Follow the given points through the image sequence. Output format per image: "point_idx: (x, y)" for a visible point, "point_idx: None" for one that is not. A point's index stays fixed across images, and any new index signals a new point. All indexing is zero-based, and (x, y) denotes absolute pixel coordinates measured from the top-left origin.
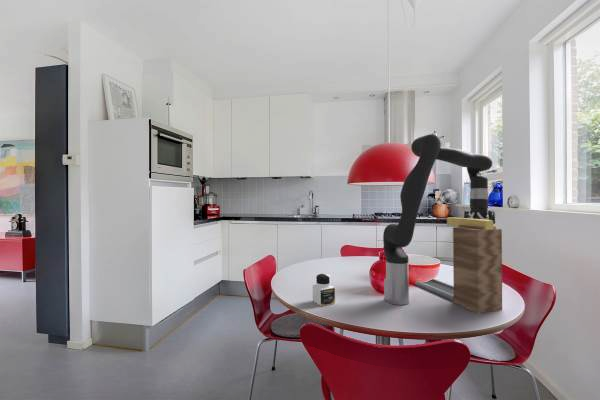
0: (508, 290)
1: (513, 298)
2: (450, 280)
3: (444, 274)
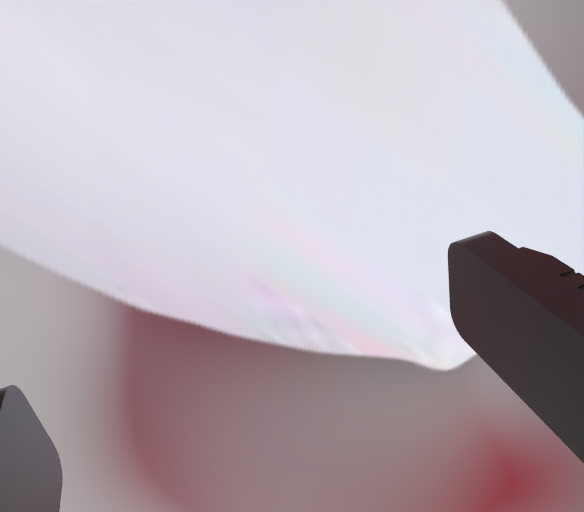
0: (194, 314)
1: (36, 242)
2: (453, 86)
3: (579, 139)
